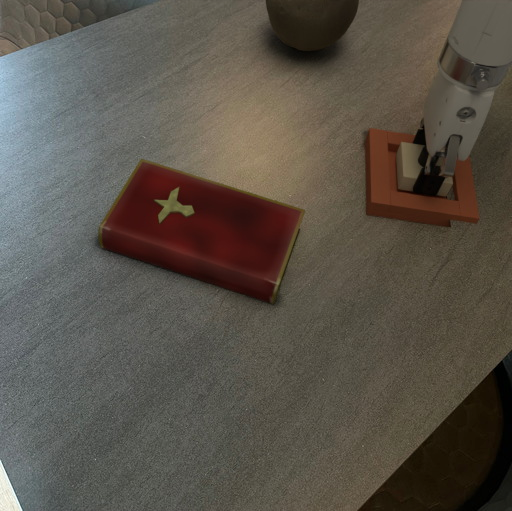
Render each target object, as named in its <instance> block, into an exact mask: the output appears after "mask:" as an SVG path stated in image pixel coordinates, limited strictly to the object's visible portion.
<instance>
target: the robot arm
mask: <svg viewBox="0 0 512 511" xmlns="http://www.w3.org/2000/svg"><path fill="white" fill-rule="evenodd" d="M453 19H454V20H453V22H452V24H451V27H450V30H449V32H448V33H447V37H446V39H445V41H444V44H443V45H442V49H441V50H440V54H439V56H438V58H437V62H436V64H437V69H438V70H437V71H436V73H435V76H434V78H433V80H432V82H431V85H430V87H429V89H428V92H427V94H426V96H425V100H424V103H423V108H422V109H423V110H422V113H423V114H422V115H423V117H422V118H421V120H420V123H419V128H417V131H416V133H415V134H414V135H415V138H414V140H413V143H412V144H418V145H425V146H426V145H427V150H428V152H429V156H428V159H427V163H426V166H425V168H422V169H421V171H420V173H419V175H418V177H417V180H416V182H415V184H414V186H413V192H415V193H421V194H428V195H437V194H438V192H439V190H440V188H441V186H442V184H443V182H444V180H445V178H447V177H453V175H454V171H455V165H456V159H457V156H458V160H459V161H465V160H466V159H467V158H468V156H470V155H471V153H472V150H473V148H474V146H475V144H476V142H477V140H478V138H479V136H480V134H481V131H482V129H483V126H484V124H485V122H486V119H487V117H488V115H489V112H490V109H491V106H492V103H493V100H494V97H495V90H497V89H498V88H499V87H500V86H501V85H502V84H503V82H504V80H505V78H506V76H507V74H508V72H509V70H510V68H511V66H512V0H461V2H460V5H459V8H458V9H457V12H456V14H455V17H454V18H453ZM444 147H445V150H441V149H442V148H444ZM435 156H436V157H442V158H443V162H442V165H441V166H433V163H434V160H435Z"/></svg>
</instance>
